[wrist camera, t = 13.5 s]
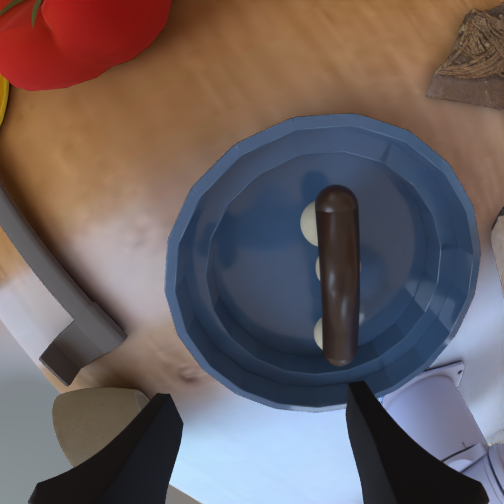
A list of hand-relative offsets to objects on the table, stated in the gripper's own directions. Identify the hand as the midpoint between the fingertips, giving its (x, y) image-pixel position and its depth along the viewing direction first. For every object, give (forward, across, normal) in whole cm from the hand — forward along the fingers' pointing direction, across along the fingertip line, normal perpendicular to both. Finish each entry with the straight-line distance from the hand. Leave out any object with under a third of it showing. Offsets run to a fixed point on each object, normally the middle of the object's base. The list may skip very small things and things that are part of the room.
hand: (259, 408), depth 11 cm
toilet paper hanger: (+6, +19, -5) cm, 20 cm away
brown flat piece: (+9, -24, -16) cm, 30 cm away
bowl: (+9, -4, -2) cm, 10 cm away
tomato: (+9, +7, -20) cm, 23 cm away
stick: (+6, -4, -2) cm, 8 cm away
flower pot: (+7, +10, +9) cm, 16 cm away
